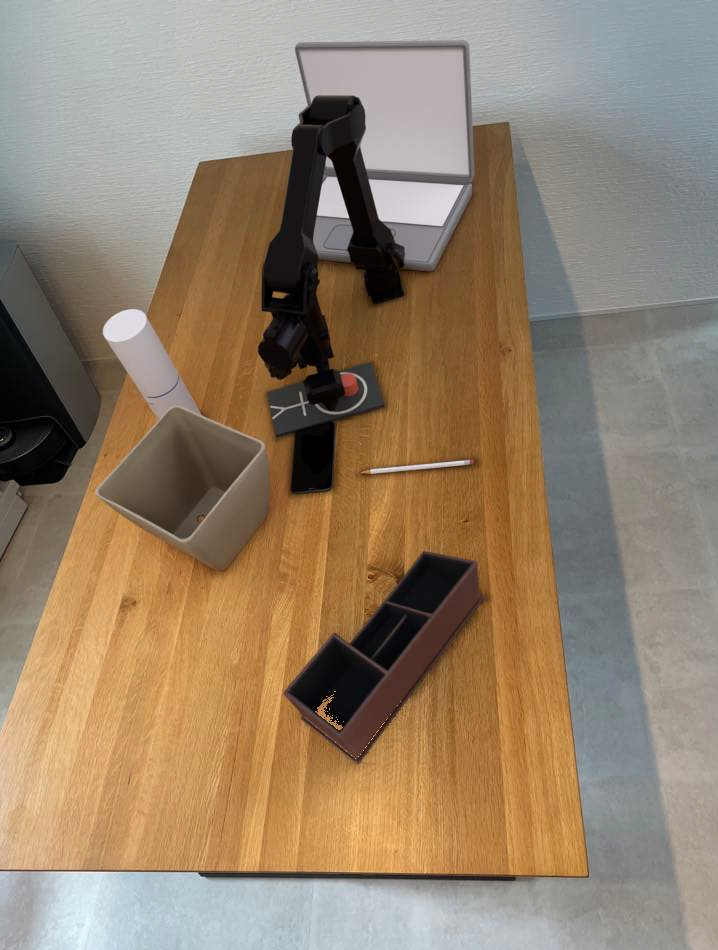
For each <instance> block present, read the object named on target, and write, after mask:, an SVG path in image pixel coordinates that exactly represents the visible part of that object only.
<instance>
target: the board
mask: <svg viewBox="0 0 718 950" xmlns="http://www.w3.org/2000/svg"><path fill="white" fill-rule="evenodd" d="M339 371H340V375H341V376H342V375H343V374H347V373H350V374H353V375H354V376H355V377H356V381H357V384H358V391H357V393H356V394H354V395H352V396H342V397H340V398H339V401H338V404H337V407H336V409H335V410H334V411H329V410H328V409H327V408H326V407H325V406H324V404H323V403H318V404H315V405H312V404H309V402H308V399H307V396H306V392H305V387H304V383H303V381H300V382H296V383H293V384H290V385H286V386H282V387H280V388H279V387H278V388H276V389H272V390H268V391H266V392H267V398H268V402H269V403H268V405H269V408H270V414H271V420H272V426H273V432H274V436H275V438H276V439H277V438H278V439H279V438H281V437H284V436H288V435H291V434H295V431H297V430H301V429H304V428H308V427H312V426H315V425H319V424H322V423H326V422H334V423H335V422H337V421H341V420H343V419H348V418H351V417H354V416H358V415H362V414H365V413H368V412H372V411H375V410H379V409H382V408H385V407H386V406H385V402H384V400H383V396H382V393H381V389H380V387H379V383H378V380H377V377H376V374H375V370H374V367H373V364H372V362H371V361H369V362H365V363H361V364H359V365H355V366H351V367H349V368H345V369H341V370H339Z"/></svg>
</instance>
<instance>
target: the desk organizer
mask: <svg viewBox="0 0 718 950" xmlns="http://www.w3.org/2000/svg"><path fill="white" fill-rule="evenodd" d="M478 569H479V567H478V560H471V559H466V558H462V557H458V556H457V557H456V556H452V555H446V554H441V553H437V552H433V551H426V550H423V551H422V552H421V553H420V554H419V555H418V557H417V558H416V560H415V561H414V563H412V565H410V567H409V569H408V570H407V571H406V573H405V574H404V575H403V577H402V578H401V579H400V581H399V582H398V583H397V584H396V586H394V588H393V589H392V590H391V591H390V593H389V594H388V595H387V596H386V598H385V599H384V600H383V601H382V603H380V605H379V606H378V607H377V609H376V610H375V611H374V612H373V614H372V615H371V616H370V617H369V618H368V620H367V621H366V622H365V623H364V625H363V626H362V627H361V628H360V630H359V631H358V632H357V633H356V635H355V636H354V637H353V638H352V639H351V641H350V642H348V641H346V640H345V639H343V637H341V636H340V635H339V634H338V633H336V632H333V633H332V634H331V635H330V636H329V637H328V638H327V640H325V642H323V644H322V646H321V647H320V648H319V649H318V650H317V652H316V653H315V654H314V655H313V656H312V657H311V658H310V660H308V662H307V664H306V665H305V666H304V667H303V668H302V669H301V671H300V672H299V673H298V674H297V675H296V676H295V678H294V679H293V680H292V681H291V682H290V683H289V685H288V686H287V687H286V688H285V690H284V691H283V695H284V697H286V699H287V700H288V701H289V702H290V703H291V704H292V705H293V707H294V708H295V709H296V710H297V711H298V712H299V713H300V714H301V717H300V718H299V719H300V720H301V721H302V722H303V723H304V724H306V725H307V726H308V727H309V728H311V729H312V730H313V731H315V732H316V733H317V734H319V735H320V736H321V737H322V738H323V739H325V740H326V741H327V742H329V743H330V744H331V745H333V747H335V748H336V749H337V750H339V752H341V753H342V754H343V755H344V756H345V757H346V758H348V759H350V760H351V761H352V762H354V764H355V765H357V766H359V765H360V763H361V761H362V760H363V759H364V758H365V756H367V754H368V753H369V751H370V750H371V749H372V747H373V746H374V744H375V743H376V742H377V741H378V740H379V738H380V737H381V735H382V734H383V733H384V731H385V730H386V729H387V728H388V726H389V725H390V723H391V722H392V721H393V719H394V718H395V717H396V716H397V714H398V713H399V712H400V710H401V709H402V708H403V706H404V705H405V704H406V703H407V701H408V700H409V699H410V697H411V696H412V695H413V694H414V692H415V690H416V689H417V688H418V687H419V685H420V684H421V682H422V681H423V680H424V678H426V676H427V675H428V673H429V672H430V671H431V669H432V668H433V667H434V666H435V664H436V663H437V662H438V660H439V659H440V657H441V656H442V655H443V653H444V652H445V651H446V649H447V648H448V647H449V646H450V644H452V642H453V640H454V639H455V638H456V636H457V635H458V634H459V632H461V630H462V629H463V627H464V626H465V625H466V623H467V622H468V621H469V619H470V618H471V617H472V615H473V614H474V613H475V611H476V610H477V609H478V608H479V606H480V605H481V603H482V602H483V601H484V600H485V599H486V597H485V596H484V595H482V594H480V582H479V570H478ZM334 691H336V692H334ZM333 694H334V695H333ZM331 695H333V696H331ZM326 696H328V697H330V696H331V697H334V698H332V699H331V700H332V701H331V702H330V703H328V704H327V706H326V707H327V709H326V708H324V710H325V711H326V712H325V711H324V712H325V714H326V717H327V715H329V717H330V716H331V717H333V719H330V720H332V721H331V722H334V721H335V720H336V721H337V722H336V723H337V724H338V725H342V727H343V728H342V729H341V730H338V729H336V728H335V727H334V726H333V725H331V724H330V723H328V722H327V721H326V720H325V719H323V718H322V717H321V716H319V715H318V714H317V713H316V712H315V711H317V710H318V709H317V707H319V706H320V705H321V704H322V703H323V702H322V701H323V700H324V699H327V698H328V697H326ZM331 697H330V698H331ZM327 700H328V699H327ZM327 700H326V701H327ZM326 701H324V702H326ZM328 701H329V700H328ZM400 701H401V702H400ZM397 705H398V706H397ZM323 707H324V706H323ZM329 708H330V710H329ZM321 711H322V710H321ZM327 711H328V712H327ZM317 712H318V711H317ZM329 713H330V714H329ZM390 714H391V715H390ZM332 715H333V716H332ZM331 717H330V718H331ZM336 717H337V718H336ZM324 718H325V717H324ZM387 718H388V719H387ZM337 719H338V720H337ZM386 719H387V720H386ZM338 721H339V722H338ZM343 721H344V722H343ZM329 722H330V721H329ZM384 722H385V723H384ZM334 723H335V722H334ZM383 723H384V724H383ZM337 724H336V725H337ZM382 724H383V725H382ZM381 726H382V727H381ZM316 727H317V728H316ZM380 727H381V728H380ZM378 730H379V731H378ZM377 731H378V732H377ZM376 732H377V733H376ZM375 734H376V735H375ZM326 735H327V736H326ZM374 735H375V736H374ZM373 736H374V737H373ZM372 738H373V739H372ZM371 739H372V740H371ZM335 742H336V743H335ZM369 742H370V743H369ZM368 743H369V744H368ZM340 746H341V747H340ZM366 746H367V747H366ZM365 747H366V748H365ZM345 750H346V751H347V752H346V751H345ZM363 750H364V751H363ZM360 754H361V755H360ZM351 755H352V756H351ZM358 756H359V757H358ZM355 758H356V759H355Z"/></svg>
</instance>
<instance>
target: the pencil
mask: <svg viewBox="0 0 718 950" xmlns="http://www.w3.org/2000/svg"><path fill="white" fill-rule="evenodd" d="M469 465H471V466H472V465H475V460H474V459H466V460H465V459H464V460H456V461H446V462H445V461H444V462H435V463H424V464H414V465H404V466H403V465H402V466H393V467H383V468H372V469H367V470H364V471H361V472H360V473H361V474H367V475H374V474H375V475H376V474H386V473H395V472H397V473H398V472H405V471H417V470H427V469H428V470H429V469H437V468H439V469H440V468H449V467H460V466H469Z"/></svg>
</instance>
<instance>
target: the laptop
mask: <svg viewBox="0 0 718 950" xmlns="http://www.w3.org/2000/svg"><path fill="white" fill-rule="evenodd" d="M294 53H295V58H296V62H297V66H298V69H299V74H300V78H301V81H302V86H303V87H302V88H303V91H304V96H305V99H306V104H307V106H308V105H310V104H312V101H313V99H314V97H315V96H317V95H354V96H356V97H359V99H360V100H361V103H362V105H363V107H364V109H365V118H366V119H365V124H366V130H365V133H364V136H363V139H362V142H361V145H360V148H361V152H362V156H363V160H364V164H365V168H366V171H367V175H368V179H369V183H370V187H371V191H372V195H373V199H374V202H375V206H376V210H377V214H378V218H379V220H381V221H382V222H383V223H384V224H385V225H386V226H387V227H388V228H390V230H391V232H392V235H393V237H394V240H395V243H397V244H399V245H401V246H404V247H405V259H404V263H405V266H404V267H403V268H401V269H402V270H409V271H410V270H411V271H419V272H428V273H430V272H433V271H434V270H436V268H437V266H438V265H439V262H440V259H441V258H442V256H443V254H444V252H445V250H446V248H447V246H448V244H449V242H450V240H451V238H452V236H453V234H454V232H455V230H456V228H457V227H458V223H460V220H461V218H462V217H463V214H464V212H465V210H466V208H467V206H468V204H469V202H470V200H471V198H472V196H473V185H472V182H473V181H474V178H475V176H476V175H475V152H474V149H475V148H474V129H473V126H474V125H473V108H472V107H473V102H472V101H473V100H472V78H471V77H472V76H471V53H470V43H469V41H467V40H465V39H446V40H445V39H441V40H440V39H439V40H438V39H437V40H375V41H374V40H371V41H370V40H367V41H364V40H363V41H360V40H359V41H304V42H303V41H301V42H300V41H299V42H298V43H296V45H295V47H294ZM352 234H353V229H352V226H351V222H350V219H349V216H348V213H347V209H346V206H345V203H344V199H343V196H342V193H341V190H340V186H339V183H338V180H337V177H336V173H335V170H334V167H333V163H332V161H331V160H330V159H329V158H328V157H327V158H326V164H325V170H324V176H323V182H322V187H321V193H320V199H319V205H318V211H317V217H316V223H315V229H314V237H313V243H314V245H315V248H316V251H317V254H318V261H319V260H321V261H331V262H336V263H337V262H338V263H347V264H352V263H351V261H350V255H349V253H348V251H347V248H348V244H349V242H350V239H351V237H352ZM401 269H400V270H401Z"/></svg>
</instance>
